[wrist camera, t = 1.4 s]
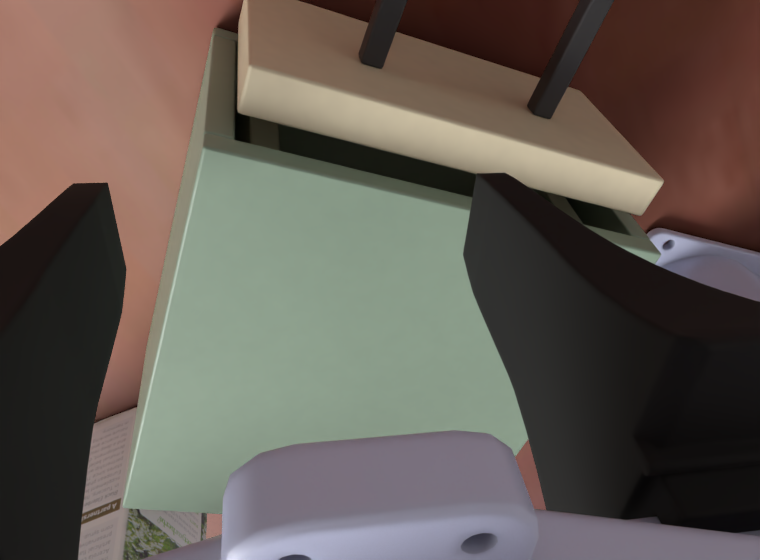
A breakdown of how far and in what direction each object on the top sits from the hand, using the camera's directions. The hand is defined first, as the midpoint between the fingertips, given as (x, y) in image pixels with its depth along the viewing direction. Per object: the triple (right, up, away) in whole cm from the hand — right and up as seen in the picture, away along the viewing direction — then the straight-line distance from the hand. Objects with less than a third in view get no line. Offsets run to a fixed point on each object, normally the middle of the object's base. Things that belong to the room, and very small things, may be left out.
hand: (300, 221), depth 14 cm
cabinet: (0, 0, +12) cm, 12 cm away
